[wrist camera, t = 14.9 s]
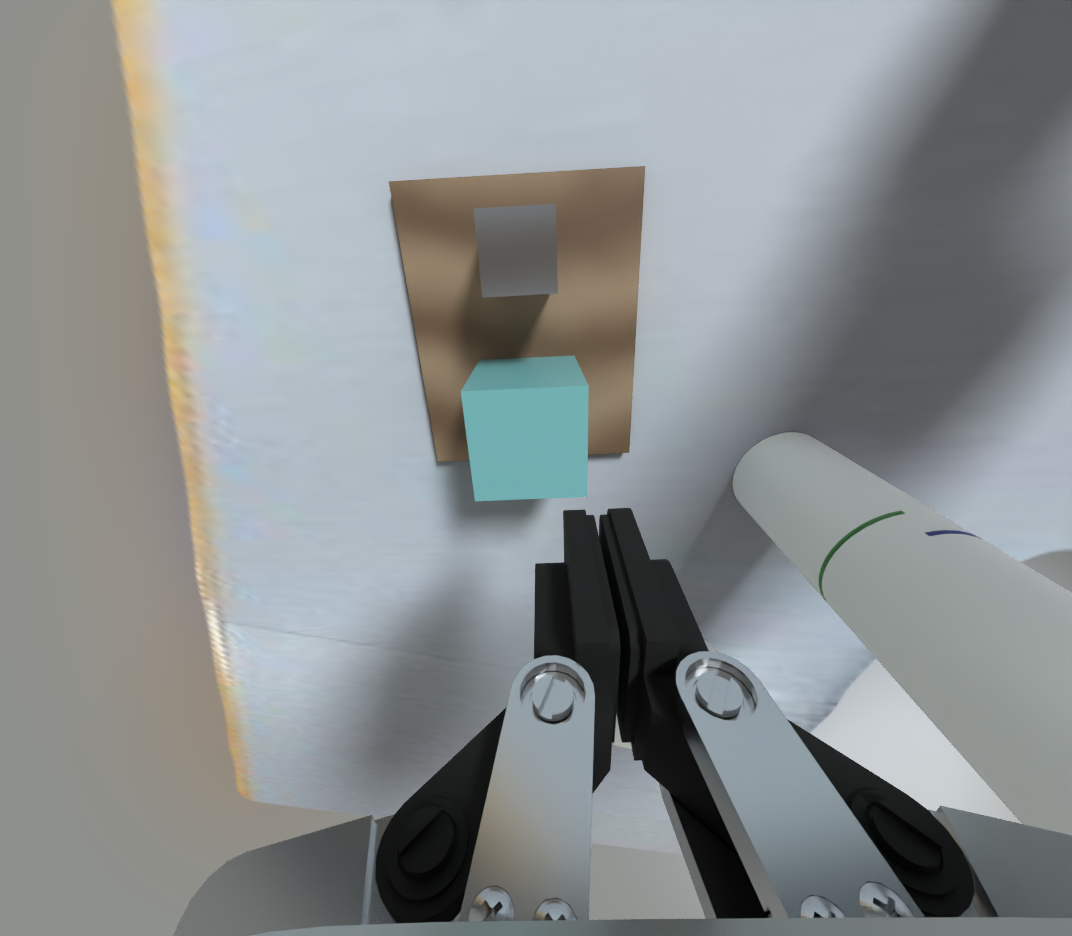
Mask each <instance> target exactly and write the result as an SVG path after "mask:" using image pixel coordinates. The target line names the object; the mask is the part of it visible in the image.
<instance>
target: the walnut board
mask: <svg viewBox="0 0 1072 936" xmlns="http://www.w3.org/2000/svg"><path fill="white" fill-rule="evenodd" d="M644 177H645V166H640V167H623V168H606V169H590V170H573V171H556V172H540V173H523V174H507V175H490V176H473V177H457V178H440V179H423V180H407V181H390V182H389V185H390V191H391V196H392V202H393V208H394V214H395V219H396V225H397V231H398V237H399V242H400V248H401V254H402V260H403V265H404V271H405V277H406V283H407V288H408V294H409V300H410V306H411V311H412V317H413V323H414V329H415V334H416V340H417V346H418V352H419V358H420V363H421V369H422V375H423V381H424V386H425V392H426V398H427V404H428V409H429V415H430V421H431V427H432V432H433V438H434V444H435V450H436V455H437V461H438V462H441V461H462V460H469V452H468V444H467V436H466V429H465V421H464V413H463V406H462V398H461V390H462V388H463V387H464V385H465V383H466V382H467V380H468V378H469V377H470V375H471V373H472V372H473V370H474V368H475V367H476V365H477V363H478V362H479V360H490V359H512V358H533V357H554V356H575V358H576V360H577V362H578V364H579V366H580V368H581V371H582V373H583V375H584V377H585V379H586V381H587V383H588V385H589V392H588V454H609V453H629V445H630V427H631V409H632V391H633V373H634V356H635V338H636V320H637V302H638V284H639V266H640V248H641V230H642V212H643V195H644Z"/></svg>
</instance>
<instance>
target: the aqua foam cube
mask: <svg viewBox="0 0 1072 936" xmlns="http://www.w3.org/2000/svg"><path fill="white" fill-rule="evenodd" d="M588 392H589V385H588V383H587V381H586V379H585V377H584V375H583V373H582V371H581V368H580V366H579V364H578V362H577V360H576V358H575V356H554V357H533V358H512V359H490V360H479V362H478V363H477V365H476V367H475V368H474V370H473V372H472V373H471V375H470V377H469V378H468V380H467V382H466V383H465V385H464V387H463V388H462V390H461V398H462V406H463V413H464V421H465V429H466V436H467V444H468V452H469V460H470V467H471V475H472V483H473V491H474V498H475V501H497V500H521V499H545V498H569V497H587V473H588Z"/></svg>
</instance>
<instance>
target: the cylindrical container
mask: <svg viewBox="0 0 1072 936" xmlns="http://www.w3.org/2000/svg"><path fill="white" fill-rule="evenodd" d="M732 485H733V492H734V494H735V497H736V499H737V500H738V501H739V503H740V504H741V505H742V506H743V507H744V509H745V510H746V511H747V512H748V513H749V514H750V515H751V517H752V518H753V519H754V520H755V521H756V522H757V523H758V525H759V526H760V527H761V528H762V529H763V530H764V531H765V532H766V534H767V535H768V536H769V537H770V538H771V539H772V540H773V542H774V543H775V544H776V545H777V546H778V547H779V548H780V550H781V551H782V552H783V553H784V554H785V555H786V556H787V557H788V559H789V560H790V561H791V562H792V563H793V564H794V565H795V567H796V568H797V569H798V570H799V571H800V572H801V573H802V575H803V576H804V577H805V578H806V579H807V580H808V581H809V582H810V584H811V585H812V586H813V587H814V588H815V589H816V590H817V592H818V593H819V594H820V595H821V596H822V597H823V598H824V600H825V601H827V603H828V604H829V605H830V606H831V607H832V609H833V610H834V611H835V612H836V613H837V614H838V615H839V617H840V618H841V619H842V620H843V621H844V622H845V623H846V625H847V626H848V627H849V628H850V629H851V630H852V631H853V632H854V634H855V635H856V636H857V637H858V638H859V639H860V640H861V642H862V643H863V644H864V645H865V646H866V647H867V648H868V650H869V651H870V652H871V653H872V654H873V655H874V656H875V657H876V659H877V660H878V661H879V662H880V663H881V664H882V665H883V667H884V668H885V669H886V670H887V671H888V672H889V673H890V674H891V676H892V677H893V678H894V679H895V680H896V681H897V682H898V684H899V685H900V686H901V687H902V688H903V689H904V690H905V692H906V693H907V694H908V695H909V696H910V697H911V698H912V699H913V701H914V702H915V703H916V704H917V705H918V706H919V707H920V709H921V710H922V711H923V712H924V713H925V714H926V715H927V716H928V718H929V719H930V720H931V721H932V722H933V723H934V724H935V726H936V727H937V728H938V729H939V730H940V731H941V732H942V734H943V735H944V736H945V737H946V738H947V739H948V740H949V741H950V743H952V745H953V746H954V747H955V748H956V749H957V750H958V751H959V753H960V754H961V755H962V756H963V757H964V758H965V760H966V761H967V762H968V763H969V764H970V765H971V766H972V767H973V769H974V770H975V771H976V772H977V773H978V774H979V776H980V777H981V778H982V779H983V780H984V781H985V782H986V783H987V785H988V786H989V787H990V788H991V789H992V790H993V791H994V792H995V793H996V795H997V796H998V797H999V798H1000V799H1001V800H1002V802H1003V803H1004V804H1005V805H1006V806H1007V807H1008V808H1009V810H1010V811H1011V812H1012V813H1013V814H1014V815H1015V816H1016V817H1017V819H1018V820H1019V821H1020V822H1021V823H1022V824H1024V825H1028V826H1033V827H1037V828H1041V829H1046V830H1050V831H1055V832H1059V833H1064V834H1068V835H1072V593H1070V592H1069V591H1067V590H1066V589H1064V588H1062V587H1061V586H1059V585H1057V584H1055V583H1054V582H1052V581H1051V580H1049V579H1047V578H1046V577H1044V576H1042V575H1041V574H1039V573H1037V572H1036V571H1034V570H1032V569H1031V568H1029V567H1028V566H1026V565H1024V564H1023V563H1021V562H1019V561H1018V560H1016V559H1014V558H1013V557H1011V556H1009V555H1008V554H1006V553H1004V552H1003V551H1001V550H999V549H998V548H996V547H994V546H993V545H991V544H989V543H988V542H986V541H984V540H982V539H981V538H979V537H978V536H976V535H974V534H973V533H971V532H969V531H968V530H966V529H964V528H963V527H961V526H959V525H958V524H956V523H954V522H953V521H951V520H949V519H948V518H946V517H944V516H943V515H941V514H939V513H938V512H936V511H934V510H933V509H931V508H929V507H928V506H926V505H924V504H923V503H921V502H919V501H918V500H916V499H914V498H913V497H911V496H909V495H908V494H906V493H904V492H903V491H901V490H899V489H898V488H896V487H894V486H893V485H891V484H889V483H888V482H886V481H884V480H883V479H881V478H879V477H878V476H876V475H874V474H873V473H871V472H869V471H868V470H866V469H864V468H863V467H861V466H859V465H858V464H856V463H854V462H853V461H851V460H850V459H848V458H846V457H845V456H843V455H841V454H840V453H838V452H836V451H835V450H833V449H831V448H830V447H828V446H826V445H825V444H823V443H821V442H820V441H818V440H817V439H815V438H813V437H811V436H809V435H807V434H803V433H798V432H787V433H780V434H777V435H773V436H770V437H768V438H766V439H764V440H762V441H760V442H759V443H757V444H756V445H754V446H753V447H752V448H751V449H750V450H749V451H748V452H747V453H745V455H744V456H743V457H742V459H741V460H740V461H739V463H738V465H737V467H736V469H735V472H734V475H733V483H732Z"/></svg>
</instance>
